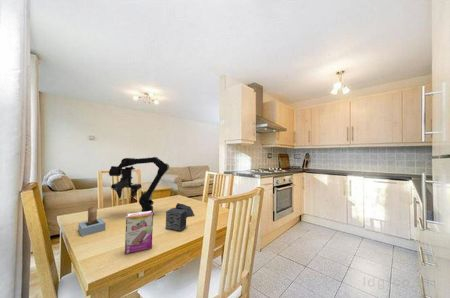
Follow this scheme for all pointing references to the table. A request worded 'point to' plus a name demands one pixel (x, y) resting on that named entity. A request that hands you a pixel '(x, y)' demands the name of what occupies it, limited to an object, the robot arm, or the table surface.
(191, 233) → the table surface
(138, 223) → the candy bar box
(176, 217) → the small box
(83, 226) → the socket block
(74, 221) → the table surface
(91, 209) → the walnut peg
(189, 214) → the dark slate chunk
